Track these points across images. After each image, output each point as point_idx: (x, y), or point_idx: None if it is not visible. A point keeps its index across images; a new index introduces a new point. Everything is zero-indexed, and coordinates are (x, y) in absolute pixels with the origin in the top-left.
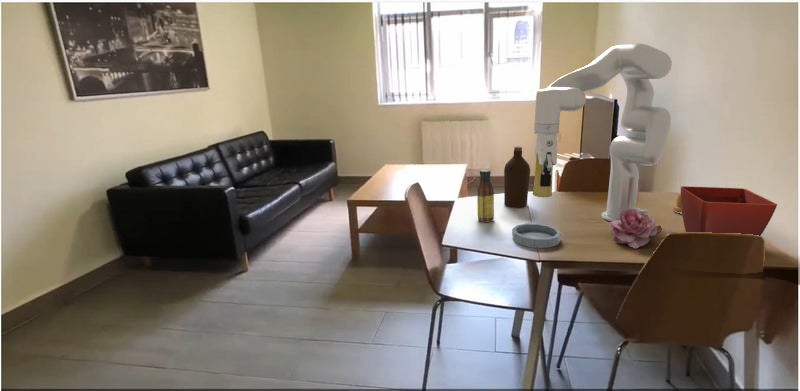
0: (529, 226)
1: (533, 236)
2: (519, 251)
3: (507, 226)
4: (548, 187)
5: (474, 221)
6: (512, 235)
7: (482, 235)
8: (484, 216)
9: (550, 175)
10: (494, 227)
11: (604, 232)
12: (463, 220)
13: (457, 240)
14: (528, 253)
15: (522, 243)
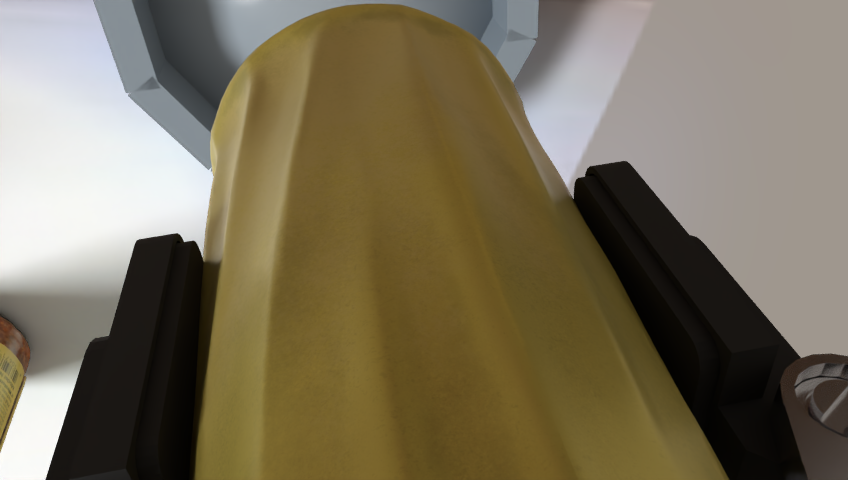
0: (154, 52)
1: (315, 12)
2: (572, 117)
3: (57, 197)
4: (547, 163)
5: (33, 397)
6: None
7: None
8: (21, 382)
9: (755, 337)
10: (120, 279)
11: None
12: (42, 449)
13: None
14: (608, 62)
15: None
